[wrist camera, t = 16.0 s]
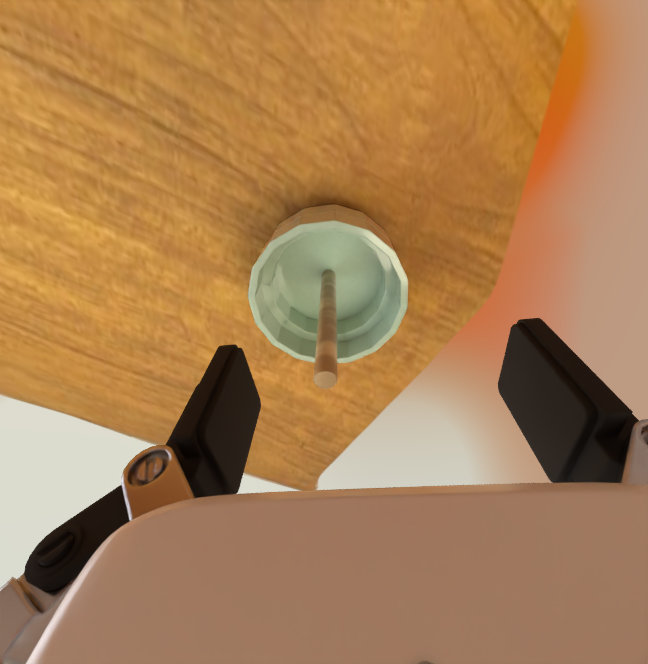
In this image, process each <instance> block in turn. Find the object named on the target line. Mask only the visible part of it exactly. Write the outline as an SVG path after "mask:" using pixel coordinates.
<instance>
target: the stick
mask: <svg viewBox="0 0 648 664" xmlns="http://www.w3.org/2000/svg"><path fill="white" fill-rule="evenodd" d="M314 383H315V384H316V385H317V386H318V387H320V388H323V389H328V388H331V387H333V386H334V385H335V384H336V383H337V314H336V274H335V272H334V271H332V270H325V271H324V272H323V273H322V278H321V291H320V304H319V316H318V329H317V341H316V354H315V366H314Z"/></svg>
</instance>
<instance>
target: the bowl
mask: <svg viewBox="0 0 648 664" xmlns="http://www.w3.org/2000/svg"><path fill="white" fill-rule="evenodd" d="M325 270H332V271H334V272H335V274H336V314H337V363H346V362H352V361H354V360H357V359H359V358H361V357H364V356H366V355H368V354H371V353H373V352H375V351H377V350H378V349H379V348H380V347H381V346H382V345H383V344H384V343H385V342H386V341H387V340H389V339H390V338H391V337H392V336H393V335H394V334H395V333H396V331H397V329H398V327H399V325H400V323H401V321H402V319H403V317H404V315H405V312H406V310H407V308H408V278H407V276H406V274H405V271H404V269H403V267H402V265H401V263H400V261H399V259H398V256H397V254H396V252H395V250H394V248H393V246H392V244H391V241H390V239H389V237H388V235H387V233H386V232H385V230H384V229H382V228H381V227H380V226H379V225H378V224H377V223H375V222H374V221H373V220H372V219H371V218H369V217H368V216H367V215H366V214H365V213H363V212H360V211H357V210H353V209H350V208H346V207H343V206H339V205H336V204H331V205H324V206H316V207H309V208H305V209H302V210H301V211H299V212H297V213H296V214H294V215H292V216H291V217H289V218H288V219H286V220H284V221H283V222H281V223H280V224H279V225H278V226H277V228H276V229H275V231H274V232H273V234H272V235H271V237H270V238H269V240H268V241H267V243H266V244H265V246H264V247H263V249H262V251H261V253H260V255H259V256H258V258H257V260H256V262H255V264H254V265H253V267H252V271H251V278H250V285H249V291H248V299H249V303H250V306H251V309H252V313H253V316H254V320H255V323H256V325H257V326H258V327H259V328H260V329H261V331H262V332H263V333H264V334H265V336H266V337H267V338H268V339H269V341H270V342H271V343H272V344H273V345H275V346H276V347H278V348H280V349H281V350H283V351H285V352H286V353H288V354H290V355H291V356H293V357H295V358H297V359H301V360H305V361H310V362H314V363H315V354H316V341H317V329H318V316H319V304H320V291H321V278H322V273H323V272H324V271H325Z"/></svg>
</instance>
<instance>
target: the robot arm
mask: <svg viewBox="0 0 648 664" xmlns="http://www.w3.org/2000/svg"><path fill="white" fill-rule="evenodd" d="M498 389H499V393H500V395H501V396H502V398H503V400H504V401H505V403H506V405H507V407H508V408H509V410H510V412H511V414H512V415H513V417H514V419H515V421H516V422H517V424H518V426H519V428H520V429H521V431H522V433H523V435H524V436H525V438H526V440H527V442H528V443H529V445H530V447H531V449H532V450H533V452H534V454H535V456H536V457H537V459H538V461H539V463H540V464H541V466H542V468H543V470H544V471H545V473H546V475H547V476H548V478H549V479H550V481H551V482H553V483H520V484H489V485H488V484H487V485H457V486H456V485H455V486H422V487H393V488H366V489H338V490H313V491H288V492H268V493H267V492H266V493H249V494H236V493H237V492H238V490H239V487H240V483H241V479H242V476H243V472H244V468H245V464H246V461H247V457H248V453H249V449H250V446H251V442H252V438H253V434H254V431H255V427H256V423H257V419H258V416H259V412H260V408H261V402H260V398H259V395H258V392H257V389H256V386H255V383H254V380H253V378H252V375H251V372H250V369H249V366H248V363H247V361H246V358H245V355H244V352H243V350H242V348H238V347H237V346H236V345H224V346H219V347H218V349H217V351H216V353H215V355H214V357H213V358H212V360H211V362H210V364H209V366H208V368H207V370H206V372H205V374H204V376H203V378H202V380H201V382H200V384H198V385H197V387H196V388H195V390H194V392H193V394H192V396H191V398H190V400H189V401H188V403H187V405H186V407H185V409H184V411H183V413H182V415H181V417H180V419H179V421H178V422H177V424H176V426H175V428H174V430H173V432H172V434H171V436H170V438H169V440H168V442H167V443H166V445H157V446H153V447H150V448H148V449H146V450H143V451H142V452H140V453H139V454H138V455H136V456H135V457H134V458H133V459H132V460H131V461H130V462H129V463H128V465H127V466H126V468H125V469H124V471H123V474H122V476H121V484H122V485H121V486H119V487H117V488H116V489H115V490H113V491H111V492H110V493H108V494H107V495H105V496H104V497H103V498H101V499H99V500H98V501H96V502H95V503H93V504H92V505H90V506H89V507H88V508H86V509H84V510H83V511H81V512H80V513H79V514H77V515H76V516H74V517H73V518H71V519H70V520H68V521H67V522H65V523H64V524H62V525H61V526H59V527H58V528H56V529H55V530H54V531H52V532H51V533H50V534H49V535H47V536H46V537H45V538H44V539H43V540H42V541H41V542H40V543H39V544H38V545H37V546H36V548H35V549H34V551H33V552H32V554H31V555H30V557H29V559H28V561H27V563H26V566H25V572H24V574H23V575H21V576H20V577H19V578H18V579H16V578H14V577H12V578H11V579H10V580H9V581H8V582H7V583H6V584H4V585H3V586H2V587H1V588H0V664H648V419H646V420H641V421H639V420H638V419H637V418H636V417H635V416H634V415H633V414H632V411H631V410H630V409H629V408H628V407H627V406H626V405H625V404H624V403H623V402H622V401H621V400H620V399H619V398H618V397H617V396H616V395H615V394H614V393H613V392H612V391H611V390H610V389H609V388H608V387H607V386H606V385H605V383H604V382H603V381H602V380H601V379H600V378H599V377H597V376H596V374H595V373H594V372H593V371H592V370H591V369H590V368H589V367H588V366H587V365H586V364H585V363H584V362H583V361H582V360H581V359H580V358H579V357H578V356H577V355H576V354H575V353H574V352H573V351H572V350H571V349H570V348H569V347H568V346H567V345H566V344H565V343H564V342H563V341H562V340H561V339H560V338H559V337H558V336H557V335H556V334H555V333H554V332H553V331H552V330H551V329H550V328H549V327H548V326H547V325H546V324H545V322H543V321H542V320H541V319H540V318H533V319H522V320H519V321H518V322H517V324H514V325H513V326H512V327H511V331H510V335H509V339H508V343H507V348H506V352H505V356H504V360H503V365H502V370H501V374H500V377H499V381H498Z"/></svg>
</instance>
